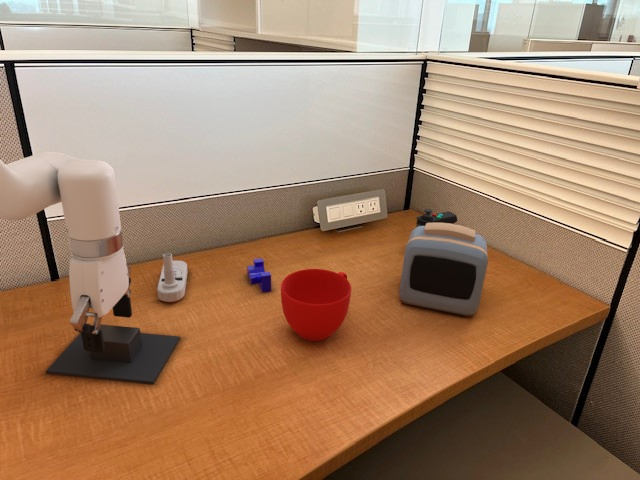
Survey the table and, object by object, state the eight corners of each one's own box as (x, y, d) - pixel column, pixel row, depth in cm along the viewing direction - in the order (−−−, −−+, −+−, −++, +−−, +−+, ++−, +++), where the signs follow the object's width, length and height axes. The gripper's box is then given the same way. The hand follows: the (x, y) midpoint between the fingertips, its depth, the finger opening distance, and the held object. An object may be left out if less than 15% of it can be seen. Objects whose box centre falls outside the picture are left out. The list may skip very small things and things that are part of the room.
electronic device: (185, 231, 108) (180, 260, 94) (188, 269, 112) (184, 302, 98) (160, 232, 107) (151, 261, 93) (164, 271, 111) (157, 304, 97)
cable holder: (247, 275, 110) (246, 260, 108) (262, 273, 111) (262, 258, 109) (255, 293, 103) (255, 277, 101) (271, 291, 104) (271, 275, 102)
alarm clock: (396, 305, 101) (405, 237, 94) (407, 270, 115) (415, 209, 108) (476, 321, 97) (492, 251, 90) (477, 283, 111) (490, 220, 104)
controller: (410, 243, 129) (415, 208, 125) (445, 235, 135) (450, 202, 130) (420, 249, 126) (425, 214, 122) (455, 242, 131) (462, 208, 127)
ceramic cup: (370, 317, 96) (374, 274, 92) (323, 361, 84) (326, 313, 79) (317, 296, 103) (319, 255, 99) (266, 334, 90) (265, 288, 86)
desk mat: (46, 373, 78) (45, 370, 78) (85, 330, 89) (85, 327, 89) (153, 384, 77) (153, 381, 77) (180, 339, 88) (179, 336, 87)
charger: (84, 358, 81) (80, 339, 79) (97, 342, 85) (94, 323, 83) (131, 363, 80) (128, 343, 79) (142, 346, 84) (139, 327, 83)
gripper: (101, 217, 82) (112, 302, 89) (37, 265, 66) (58, 363, 73) (143, 222, 81) (152, 306, 89) (90, 271, 66) (105, 369, 73)
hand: (109, 332), depth 81 cm, fingers open, 9 cm apart
